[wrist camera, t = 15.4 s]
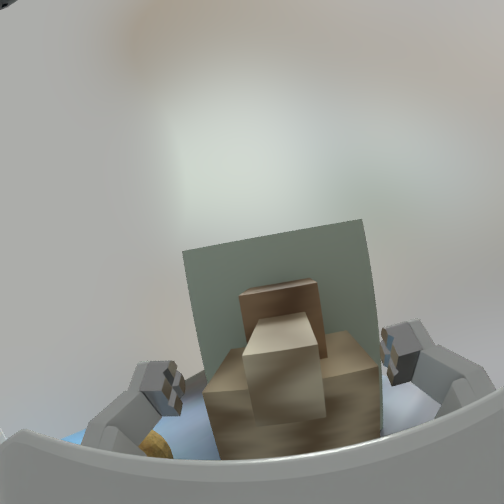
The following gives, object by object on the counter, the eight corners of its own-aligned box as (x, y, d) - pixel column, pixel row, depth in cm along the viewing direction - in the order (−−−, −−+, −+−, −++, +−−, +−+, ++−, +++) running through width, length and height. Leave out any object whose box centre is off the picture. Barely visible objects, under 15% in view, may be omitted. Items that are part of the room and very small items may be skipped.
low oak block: (242, 522, 18) (202, 392, 18) (255, 459, 28) (230, 348, 29) (375, 505, 16) (378, 365, 17) (355, 445, 27) (346, 330, 28)
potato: (140, 495, 22) (120, 454, 22) (110, 455, 30) (95, 419, 30) (188, 474, 26) (174, 434, 27) (149, 441, 34) (137, 406, 35)
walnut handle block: (232, 428, 13) (207, 317, 13) (259, 345, 29) (249, 287, 29) (351, 412, 12) (338, 296, 13) (318, 336, 28) (309, 277, 28)
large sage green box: (225, 452, 31) (182, 251, 32) (239, 411, 43) (209, 254, 44) (382, 429, 29) (361, 218, 30) (362, 392, 41) (341, 230, 42)
